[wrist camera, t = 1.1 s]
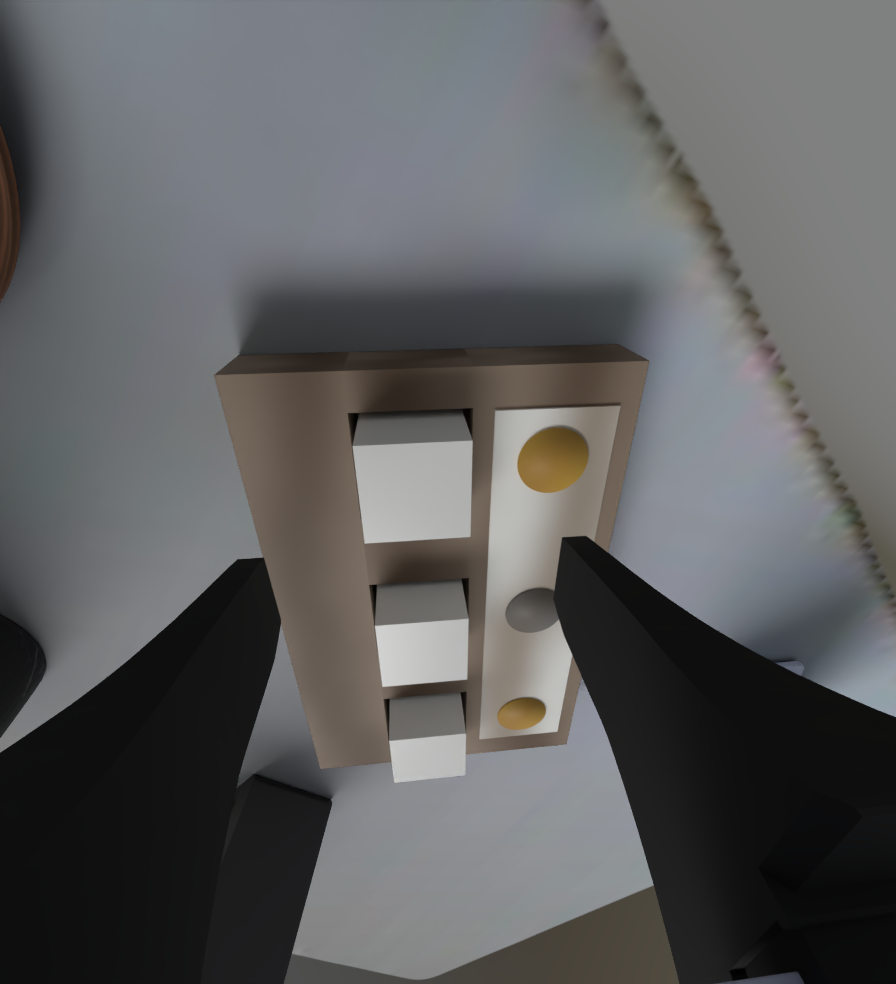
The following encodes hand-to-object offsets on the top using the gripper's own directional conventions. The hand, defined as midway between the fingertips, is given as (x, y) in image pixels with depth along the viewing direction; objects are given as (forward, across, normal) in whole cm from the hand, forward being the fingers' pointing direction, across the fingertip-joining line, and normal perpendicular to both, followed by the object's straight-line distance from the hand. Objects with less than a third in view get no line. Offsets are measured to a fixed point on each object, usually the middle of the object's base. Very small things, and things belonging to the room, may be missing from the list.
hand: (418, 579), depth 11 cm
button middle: (+7, 0, +7) cm, 10 cm away
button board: (+8, -1, +7) cm, 11 cm away
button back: (+7, 0, +15) cm, 16 cm away
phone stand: (+9, +12, +28) cm, 32 cm away
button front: (+7, 0, 0) cm, 7 cm away
